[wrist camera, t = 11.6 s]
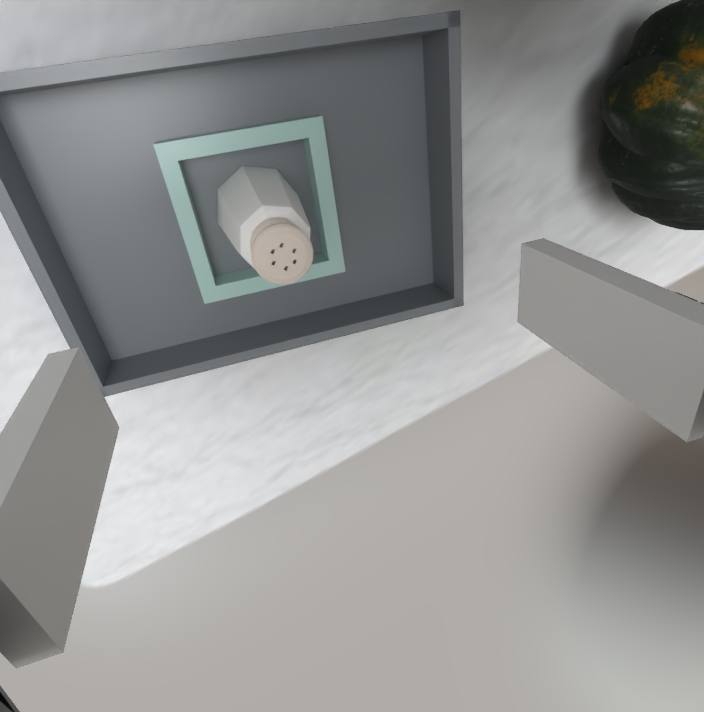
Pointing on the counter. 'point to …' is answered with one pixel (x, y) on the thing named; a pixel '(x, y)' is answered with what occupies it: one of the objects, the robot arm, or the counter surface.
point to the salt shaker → (266, 224)
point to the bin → (214, 167)
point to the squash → (659, 119)
